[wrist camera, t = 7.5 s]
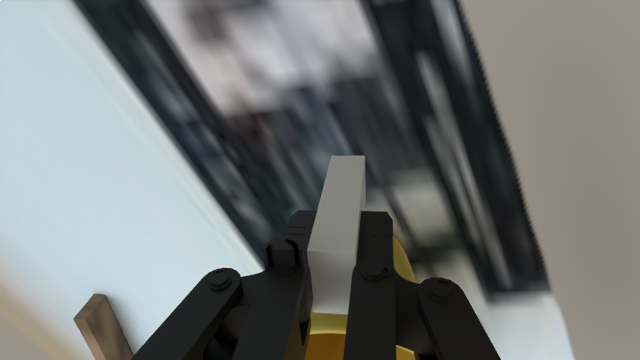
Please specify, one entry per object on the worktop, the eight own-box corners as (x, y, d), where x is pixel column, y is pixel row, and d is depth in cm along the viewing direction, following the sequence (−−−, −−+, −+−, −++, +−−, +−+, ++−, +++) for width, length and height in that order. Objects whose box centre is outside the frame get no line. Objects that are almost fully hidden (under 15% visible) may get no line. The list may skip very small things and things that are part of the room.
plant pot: (417, 324, 29) (430, 478, 21) (278, 299, 30) (236, 438, 21) (455, 208, 23) (493, 353, 15) (284, 182, 24) (232, 307, 16)
